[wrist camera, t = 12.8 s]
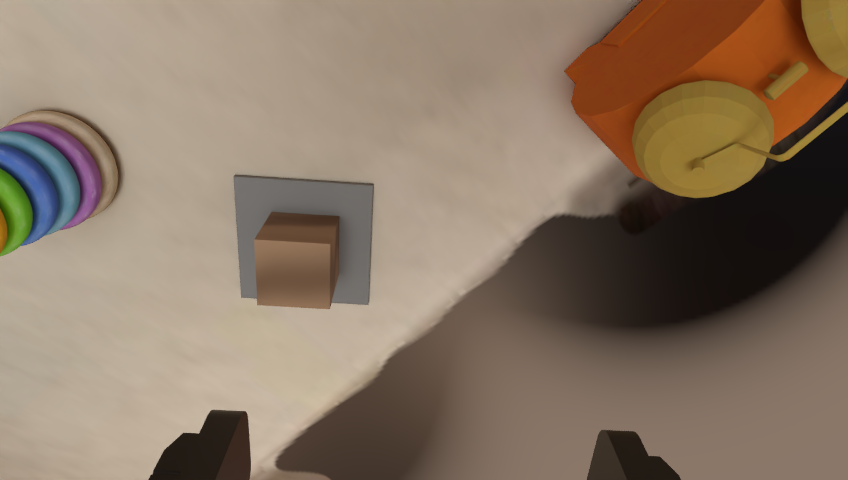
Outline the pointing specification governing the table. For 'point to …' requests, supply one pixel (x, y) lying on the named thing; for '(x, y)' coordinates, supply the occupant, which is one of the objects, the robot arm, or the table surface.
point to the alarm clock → (711, 86)
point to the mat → (308, 198)
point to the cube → (297, 260)
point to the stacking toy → (51, 176)
